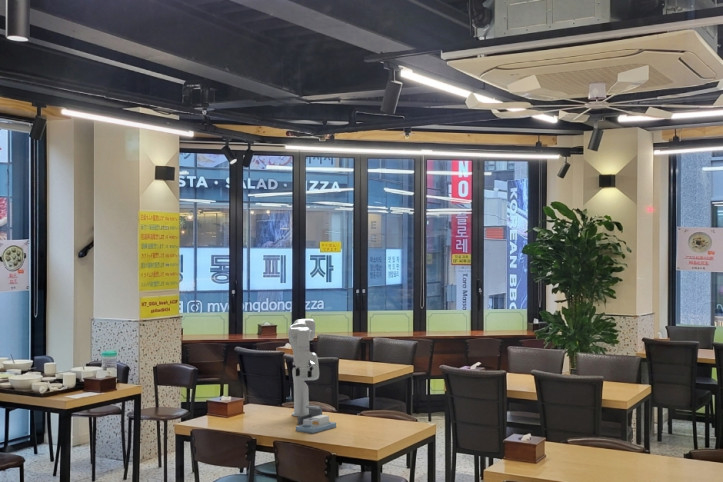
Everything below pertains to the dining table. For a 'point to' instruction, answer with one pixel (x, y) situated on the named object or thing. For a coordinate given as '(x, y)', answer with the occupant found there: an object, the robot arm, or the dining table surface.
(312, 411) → the printer bay
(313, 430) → the tray
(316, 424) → the caddy
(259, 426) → the dining table surface
